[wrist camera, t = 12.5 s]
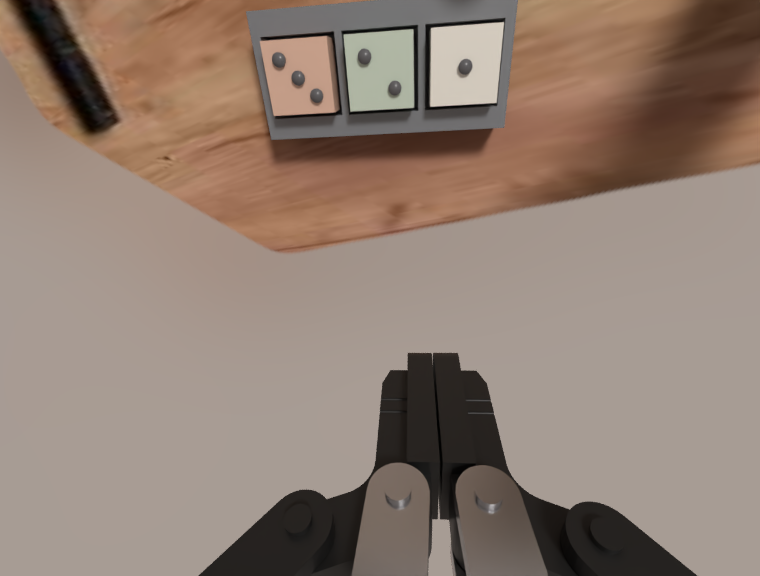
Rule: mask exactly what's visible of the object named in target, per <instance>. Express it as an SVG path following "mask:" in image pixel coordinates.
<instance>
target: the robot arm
mask: <svg viewBox="0 0 760 576" xmlns="http://www.w3.org/2000/svg"><path fill="white" fill-rule="evenodd" d="M438 495H439V509H440V519H447V520H449V522H450V532H451V551H450V554H451V562H452V569H453V576H697V575H696V574H694V573H693V572H692V571H691V570H689V569H688V568H687V567H686V566H685V565H683V564H682V563H681V562H680V561H678V560H677V559H676V558H675V557H674V556H672V555H671V554H670V553H669V552H667V551H666V550H665V549H664V548H662V547H661V546H660V545H659V544H658V543H656V542H655V541H654V540H653V539H651V538H650V537H649V536H648V535H647V534H645V533H644V532H643V531H642V530H640V529H639V528H638V527H637V526H636V525H634V524H633V523H632V522H631V521H629V520H628V519H627V518H626V517H625V516H623V515H622V514H620V513H619V512H618V511H616V510H614V509H613V508H611V507H609V506H606V505H604V504H601V503H597V502H582V503H579V504H576V505H575V506H573V507H572V508H571V509H570V510H569V509H566V508H564V507H561V506H558V505H555V504H552V503H550V502H546V501H544V500H541V499H539V498H537V497H535V496H533V495H531V494H529V493H528V492H527V491H525V490H524V489H523V488H522V487H521V486H519V485H518V483H517V482H516V481H515V480H514V479H513V477H512V476H511V474H510V472H509V470H508V467H507V464H506V460H505V456H504V452H503V448H502V444H501V440H500V436H499V432H498V428H497V424H496V419H495V416H494V411H493V407H492V403H491V399H490V395H489V391H488V387H487V383H486V382H485V381H484V380H483V378H482V377H481V376H480V375H479V373H478V372H477V371H461V368H460V363H459V357H458V353H433V365H432V354H431V353H408V370H391V371H390V372H389V374H388V375H387V377H386V378H385V380H384V382H383V383H382V395H381V407H380V419H379V429H378V441H377V452H376V461H375V466H374V469H373V472H372V473H371V475H370V477H369V478H368V479H367V481H366V482H365V483H364V484H362V485H361V486H360V487H359V488H357V489H355V490H353V491H351V492H348V493H345V494H342V495H339V496H336V497H333V498H330V499H326V498H325V497H324V496H323V495H321V494H320V493H318V492H316V491H312V490H299V491H296V492H293V493H290V494H289V495H287V496H285V497H284V498H283V499H281V500H280V501H279V502H278V503H277V504H276V505H275V506H274V507H273V508H271V509H270V510H269V511H268V512H267V513H266V514H265V515H264V516H263V517H262V518H261V519H260V520H259V521H257V522H256V523H255V524H254V525H253V526H252V527H251V528H250V529H249V530H248V531H247V532H245V533H244V534H243V535H242V536H241V537H240V538H239V539H238V540H237V541H236V542H235V543H234V544H232V546H230V547H229V548H228V549H227V550H226V551H225V552H224V553H223V554H222V555H220V556H219V558H217V559H216V560H215V561H214V562H213V563H212V564H211V565H210V566H209V567H207V568H206V569H205V570H204V571H203V572H202V573H201V574H200V575H199V576H428V559H429V556H430V553H431V545H432V519H438Z"/></svg>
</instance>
